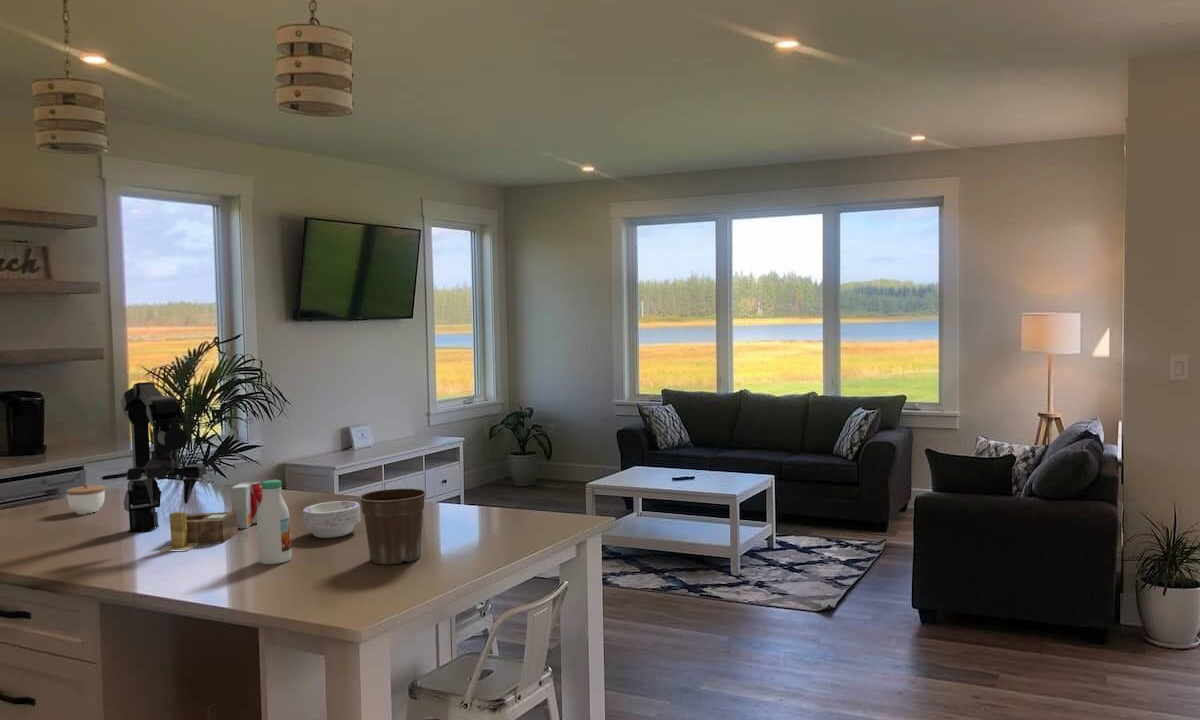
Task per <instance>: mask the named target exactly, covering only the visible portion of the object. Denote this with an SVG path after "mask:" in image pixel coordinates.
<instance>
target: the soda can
mask: <svg viewBox="0 0 1200 720" xmlns="http://www.w3.org/2000/svg"><path fill="white" fill-rule="evenodd" d="M260 483H261V481H259V480H247V481H242V482H239V483H238V484H242V485H249V484H250V485H251V488H250V495H251V518H252V524H253V525H257V524H256V523H257V512H258V508H259V506H260V503H261V501H262V497H263V491H262V484H260Z"/></svg>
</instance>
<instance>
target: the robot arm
mask: <svg viewBox="0 0 1200 720" xmlns="http://www.w3.org/2000/svg"><path fill="white" fill-rule="evenodd" d="M120 405H121V410H122V412H123V415H124V417H125V418H126V420H127V422H128V423H129V424H130V431H131V432H130V434H131V451H132V452H131V454H132V467H131V468H128V469H127V470H126V480H127V481H128V483H127V490H126V491H125V495H124V499H123V500H124V501H123V507H124V510H125V511H126V512H128V516H129V517H128V518H129V520H128V521H129V529H128V530H127V533H135V532H136V533H137V532H138V531H141V532H150V531H149V530H151V531H153V530H155V529H156V528H155V527H157V526H158V527H159V526H160V525H159V520H158V519H159V518H158V512H157V511H156V508H160V507H161V498H162V497H161V496H162V490H161V489H160V487H159V486H158V481H157V480H156V479H155V478H158V479H163V478H165V477H166V476H179V475H180V476H181V475H182V476H183V477H185V478H183V479H182V482H183V488H184V489H183V501H184V504H188V503H189V499H190V497H191V495H192V493H193V490H194V487H195V485H196V483H197V481H198V480H199V479H201V478H202V476H204V475H206V474H207V467H206V465H205V464H204V463H193V464H188V465H186V466H184V467H181V463H180V462H179V456H178V453H179V452H180V449H182V448H183V447H185V446H186V444H187V442H188V435H187V432H186V431H185V430H184V429H183V428H181V427H180V426H179V425H183V424H185V419H186V417H185V413H184V410H183V409H182V408H183V407H182V406H181V404H180V402H179V401H178V400H177V399H176V398H175V397H173V396H169V395H167V396H166V395H165V394H163V393H162V392H161V391H160V390H159V389H158V388H157V387H156V383H155V382H152V381H145V382H136V383H134V384H133V386H132V387H131V388H130V389H128V390H127V391H125V392H124V393H123V395H122V397H121V403H120ZM149 424H150V426H151V427H152V443H153V445H152V446H153V450H152V451H151V450H150V448H151V447H150V446H151V445H150V431H149V429H150V427H149ZM158 527H157V528H158ZM154 528H155V529H154ZM152 529H153V530H152Z"/></svg>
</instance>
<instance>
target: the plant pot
mask: <svg viewBox="0 0 1200 720" xmlns="http://www.w3.org/2000/svg"><path fill="white" fill-rule="evenodd" d="M426 495H427V491H426V490H424V489H421V488H420V489H419V488H392V489H391V488H389V489H381V490H373V491H370V492H366V493H363V494H360V495H359V496H358V500H359V501H360V503H361V504H360V506H361V511H362V514H363V515H364V516H363V517H364V522H365V524H364V525H365V530H366V537H367V544H368V545H367V547H368V554H369V560H370V562H372V563H373V564H377V565H382V566H385V565H386V566H390V565H391V566H392V565H400V564H402V563H403V562H407V563H411V562H414V561H416V560H418V559H419V558H421V555H422V553H421V552H422V549H421V548H422V528H423V511H424V509H425V496H426Z"/></svg>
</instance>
